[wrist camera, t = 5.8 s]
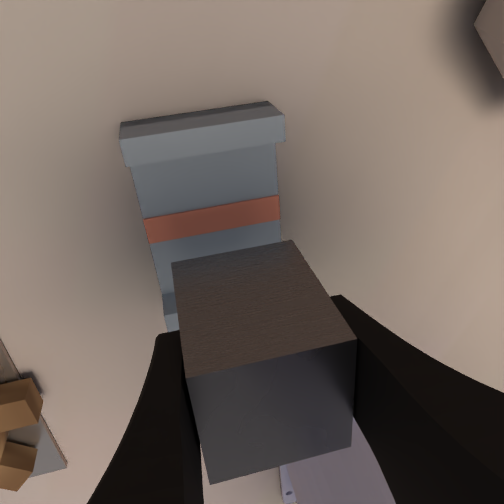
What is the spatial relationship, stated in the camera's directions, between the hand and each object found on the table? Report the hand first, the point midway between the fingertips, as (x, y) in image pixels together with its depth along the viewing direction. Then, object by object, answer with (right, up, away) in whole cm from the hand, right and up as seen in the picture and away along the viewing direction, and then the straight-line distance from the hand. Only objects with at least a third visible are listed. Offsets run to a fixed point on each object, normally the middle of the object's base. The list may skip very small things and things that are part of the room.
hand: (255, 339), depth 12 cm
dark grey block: (-1, +1, +2) cm, 3 cm away
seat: (-2, +4, +7) cm, 9 cm away
